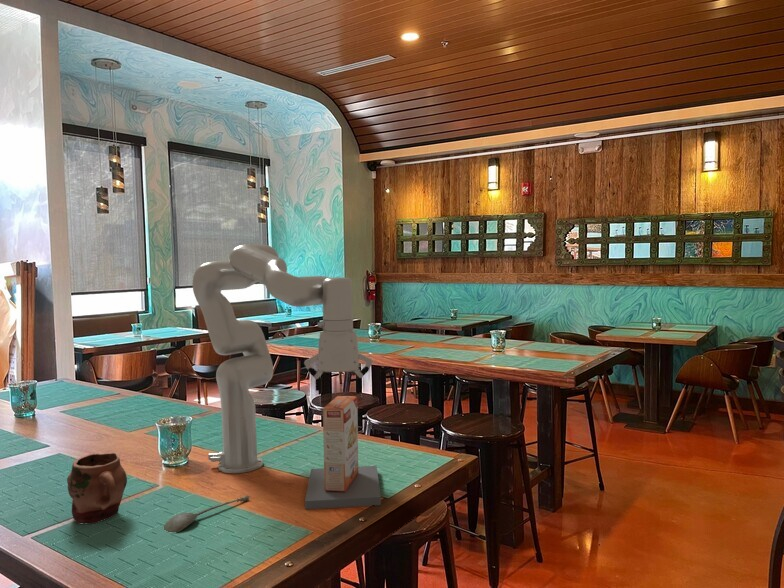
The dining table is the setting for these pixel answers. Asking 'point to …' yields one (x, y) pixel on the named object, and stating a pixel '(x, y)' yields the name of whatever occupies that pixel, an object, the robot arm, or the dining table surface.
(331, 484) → the cracker box
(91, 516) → the decorative planter
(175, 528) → the soupspoon
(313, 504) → the serving board
